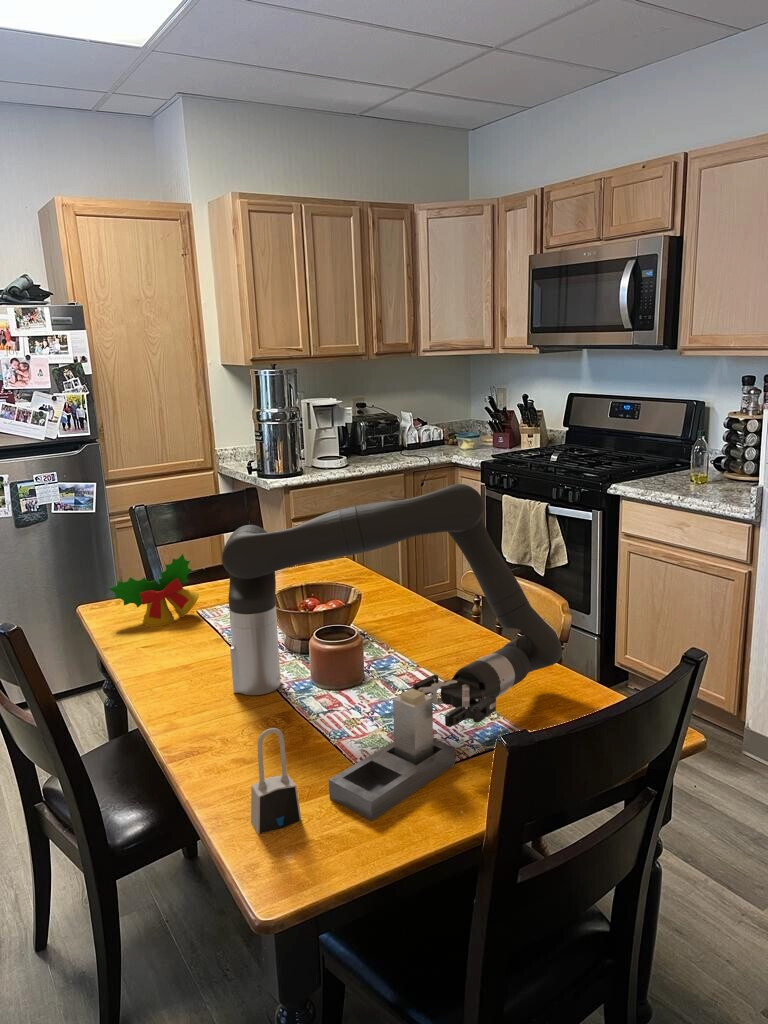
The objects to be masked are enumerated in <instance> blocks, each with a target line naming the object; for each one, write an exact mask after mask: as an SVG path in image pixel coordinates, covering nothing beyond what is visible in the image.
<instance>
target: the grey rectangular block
mask: <svg viewBox="0 0 768 1024" xmlns="http://www.w3.org/2000/svg"><path fill="white" fill-rule="evenodd" d="M433 705H434V704H433V703H432V697H431V696H430V695H425V693H423V692H420V691H418V690H415V689H413V687H412V688H409V689H407V690H405V691H404V692H402V693H400V694H399V695H398V696H397V697H395V698H393V699H392V707H393V709H392V712H393V713H392V715H393V716H392V717H393V741H394V754H395V756H397V757H399V758H401V759H404V760H406V761H408V762H410V763H412V764H415V765H418V764H420V763H421V762H423V761H424V760H426V759H427V758H429V757H431V756H432V755H433V738H434V723H433V722H434V721H433V720H434V717H433V716H434V715H433V714H434V713H433V712H434V711H433V710H434V709H433Z"/></svg>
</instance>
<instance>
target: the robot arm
mask: <svg viewBox="0 0 768 1024" xmlns="http://www.w3.org/2000/svg"><path fill="white" fill-rule="evenodd" d="M484 509H485V504H484V500H483V497H482V494H480V492H478V490H477V489H475V488H474V487H473V486H470V485H468V484H465V483H455V484H451V485H448V486H445V487H444V488H440V489H437V490H435V491H431V492H428V493H426V494H422V495H419V496H414V497H410V498H406V499H399V500H386V501H378V502H373V503H364V504H360V505H355V506H350V507H345V508H341V509H340V508H339V509H336V510H332V511H329V512H326V513H324V514H321V515H318V516H317V517H314V518H312V519H310V520H307V521H305V522H303V523H301V524H299V525H296V526H293V527H289V528H287V529H282V530H276V531H269V532H268V531H267V530H266V529H264V528H263V527H261V526H259V525H255V524H247V525H246V524H245V525H242V526H240V527H238V528H237V529H235V530H233V532H232V533H231V534H230V536H229V537H228V540H227V541H226V542H225V545H224V546H223V547H224V548H223V549H222V555H221V562H222V566H223V567H224V569H225V570H226V572H227V573H228V574H229V584H228V585H229V588H228V609H229V622H230V633H231V635H230V636H231V646H230V649H229V650H230V661H231V662H230V664H231V679H232V686H233V687H232V688H233V689H232V690H233V693H234V694H235V693H237V694H242V695H244V696H245V695H247V696H259V695H261V696H262V695H266V694H270V693H272V692H274V691H276V690H277V689H279V687H280V686H281V684H282V683H281V669H280V667H281V666H280V653H279V652H280V651H279V649H280V648H279V635H278V620H277V619H278V618H277V605H276V601H277V600H276V593H277V592H276V590H277V588H276V587H277V585H276V584H277V581H276V572H278V571H281V570H283V569H286V568H290V567H293V566H297V565H303V564H307V563H315V562H322V561H326V560H331V559H333V560H334V559H337V558H343V557H348V556H354V555H358V554H362V553H363V554H364V553H367V552H371V551H376V550H378V549H383V548H385V547H388V546H392V545H395V544H397V543H400V542H403V541H405V540H407V539H411V538H414V537H417V536H424V535H431V534H437V533H448V534H449V536H450V537H451V538H452V539H453V541H454V542H455V543H456V545H457V547H458V548H459V550H460V551H461V553H462V554H463V556H464V557H465V559H466V561H467V563H468V564H469V566H470V569H471V570H472V572H473V574H474V576H475V578H476V580H477V582H478V585H479V586H480V589H481V590H482V593H483V595H484V596H485V599H486V601H487V603H488V605H489V607H490V609H491V610H492V612H493V613H494V616H495V617H496V620H497V622H498V623H499V624H500V626H501V627H502V628H503V629H506V630H507V629H508V630H511V629H512V630H513V629H515V630H518V631H520V632H521V634H523V635H521V636H517V637H516V638H514V639H512V640H510V641H509V642H507V643H506V644H505V645H504V646H503V647H502V648H499V649H498V650H496V651H493V652H492V653H489V654H488V655H483V656H481V657H479V658H478V659H475V660H474V661H472V662H470V663H468V664H466V665H464V666H463V667H461V668H459V669H458V670H457V671H456V672H455V673H454V675H453V677H452V678H451V679H447V680H444V681H442V680H440V679H439V675H438V674H432V675H430V676H428V677H426V678H424V679H422V680H420V681H417V682H416V683H413V684H412V689H415V690H418V691H420V692H423V693H425V695H427V696H429V695H431V696H430V697H432V703H433V705H434V706H437V705H444V704H445V705H449V706H451V707H452V708H453V709H452V710H450V711H448V712H446V714H444V715H445V716H444V723H445V724H444V725H445V727H448V728H451V727H453V726H457V725H459V724H460V723H461V722H463V721H465V722H466V721H469V720H473V722H474V723H481V722H483V720H484V719H486V718H487V717H490V715H491V714H493V713H494V712H496V711H497V698H499V697H501V696H503V695H504V694H505V693H506V692H507V691H508V690H509V689H511V688H512V687H514V686H516V685H518V684H519V683H521V682H522V681H523V680H524V679H526V677H527V676H528V674H529V673H531V672H534V671H537V670H541V669H545V668H547V667H550V666H553V665H556V664H557V663H559V662H560V659H562V654H563V648H562V644H561V640H560V638H559V637H558V635H557V634H556V632H555V631H554V630H553V628H552V627H551V626H550V625H549V624H548V623H547V622H546V621H545V620H544V619H543V618H542V617H541V616H540V614H539V613H538V612H537V611H536V610H535V609H534V608H533V607H532V606H531V603H530V602H529V599H528V598H527V596H526V594H525V592H524V590H523V588H522V586H521V585H520V583H519V582H518V580H517V578H516V577H515V575H514V573H513V572H512V570H511V569H510V567H509V565H508V564H507V563H506V561H505V560H504V558H503V557H502V555H501V554H500V552H499V551H498V549H497V548H496V546H495V543H494V542H493V540H492V539H491V537H490V535H489V532H488V531H487V527H486V525H485V522H484V520H483V514H484ZM438 690H440V698H438Z"/></svg>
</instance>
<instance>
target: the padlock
mask: <svg viewBox="0 0 768 1024" xmlns="http://www.w3.org/2000/svg"><path fill="white" fill-rule="evenodd" d="M270 734H276V735H277V736H278V741H279V749H280V762H281V763H280V764H281V775H276V776H270V777H267V778H265V770H264V752H263V751H264V750H263V744H264V739H265V738H266V737H267V736H268V735H270ZM257 759H258V760H257V763H258V775H259V776H258V777H259V781H258V782H256V783H253V784H252V785H251V794H250V796H251V798H250V801H251V803H250V808H251V809H250V810H251V811H250V813H251V814H250V823H251V824H252V826H253V828H254V829H255V831H256V833H257V835H259V834H264V833H268V832H273V831H278V830H281V829H284V828H286V827H289V826H291V825H293V824H296V823H299V822H300V821H302V816H301V809H300V808H301V807H300V801H299V800H300V799H299V794H298V787H297V785H296V784H295V781H293V779H292V778H291V777H290V775H289V774H288V773H287V772H288V771H287V758H286V745H285V738H284V733H283V731H281V729H278V728H276V727H270V728H268V729H265V730H264V731H263V732H261V734H260V735H259V736H258V740H257Z"/></svg>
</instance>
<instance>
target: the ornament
mask: <svg viewBox="0 0 768 1024" xmlns="http://www.w3.org/2000/svg"><path fill="white" fill-rule="evenodd" d="M190 562H191V561H190V560H186V559H185V555H184V553H182V554H181V555H180V556H179V557H178V558H172V561H171V563H170V564H169V563H168V564H167V563H165V564H164V565H165V570H164V571H160V572H159V574H160V575H161V578H158V579H157V580H158V582H157V580H156V579H153V580H151V581H149V580H148V579H146V577H145V576H144V577H142V579H140V580H137V579H135V578H133V577H129V578H128V580H126V581H122V580H117V581H118V582H117V585H115V586H111V587H108V590H110V591H112V592H113V593H114V600H116V599H119V600H120V599H121V600H122V601H123V606H127V605H129V604H134V605H136V607H137V608H139V607H140V606H141V605H146V611H145V614H144V616H143V619H142V624H143V626H145V627H150V628H153V627H155V628H156V627H157V628H158V627H163V626H167V625H169V624H171V623H173V622H174V621H175V616H174V614H173V612H172V611H171V610H170V609H169V606H168V604H167V602H168V603H170V605H171V606H172V607H173V609H174V611H175V613H176V614H177V616H178V617H179V618H183V617H185V616H187V614H188V613H189V612H190V611H191V610H192V609H193V607H194V606H195V605H196V603H197V601H198V599H199V596H200V593H199V592H198V591H193V590H187V589H185V588H184V587H183V584H185V583H188V582H189V580H188V578H187V576H188V575H189V574H190V573H191V572H192V571H193V569H191V568H189V564H190Z"/></svg>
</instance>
